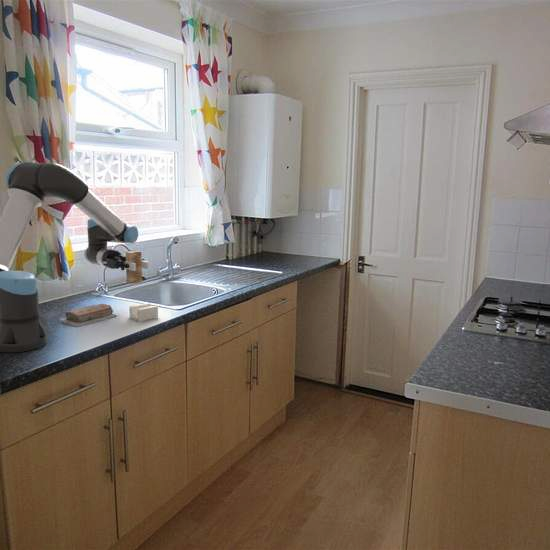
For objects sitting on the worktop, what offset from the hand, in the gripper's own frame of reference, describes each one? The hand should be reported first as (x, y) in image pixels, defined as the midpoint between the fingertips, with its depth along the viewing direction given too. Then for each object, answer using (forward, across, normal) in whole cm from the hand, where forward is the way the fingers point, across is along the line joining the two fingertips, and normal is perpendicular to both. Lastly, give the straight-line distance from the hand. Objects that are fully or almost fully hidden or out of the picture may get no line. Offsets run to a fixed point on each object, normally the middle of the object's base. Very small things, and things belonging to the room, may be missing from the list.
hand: (141, 266), depth 198 cm
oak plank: (-5, 0, -7) cm, 9 cm away
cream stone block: (+1, 0, -20) cm, 20 cm away
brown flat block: (-11, +16, -21) cm, 29 cm away
